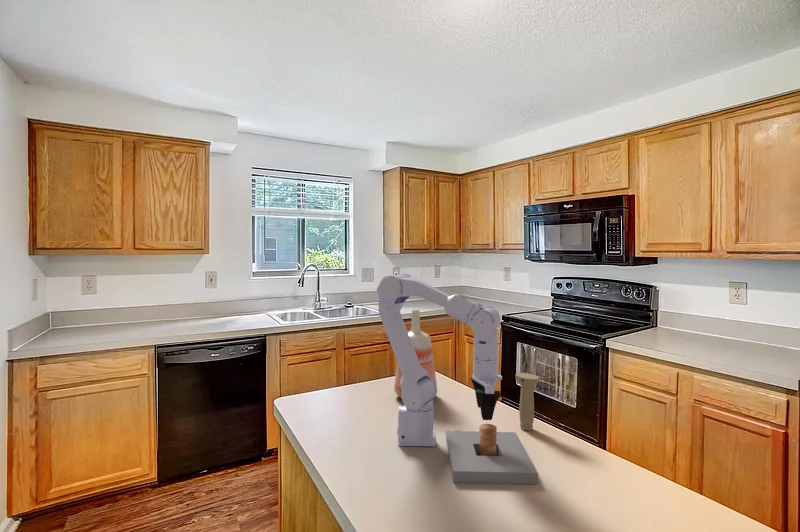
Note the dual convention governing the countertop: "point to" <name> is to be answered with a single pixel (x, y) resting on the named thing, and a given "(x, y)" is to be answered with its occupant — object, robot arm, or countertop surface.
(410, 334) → the vase
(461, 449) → the socket plate
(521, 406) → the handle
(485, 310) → the robot arm
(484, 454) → the peg
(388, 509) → the countertop surface
